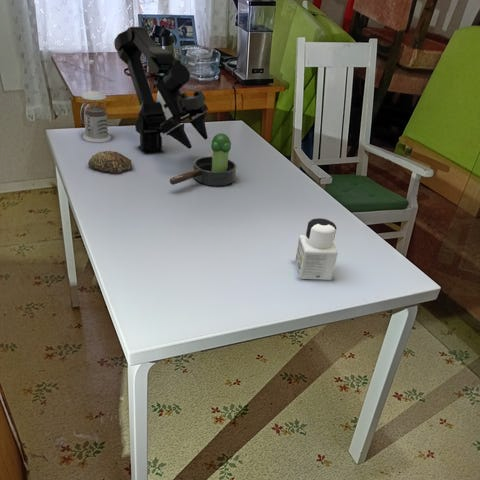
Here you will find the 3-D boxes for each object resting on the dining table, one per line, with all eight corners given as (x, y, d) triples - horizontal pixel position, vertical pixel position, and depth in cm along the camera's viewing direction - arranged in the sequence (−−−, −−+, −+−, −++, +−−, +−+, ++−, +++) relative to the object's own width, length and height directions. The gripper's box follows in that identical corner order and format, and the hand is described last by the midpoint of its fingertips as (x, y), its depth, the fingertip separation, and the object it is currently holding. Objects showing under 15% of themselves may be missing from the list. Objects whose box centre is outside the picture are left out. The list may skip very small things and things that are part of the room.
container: (294, 262, 129) (303, 214, 121) (324, 263, 130) (335, 215, 122) (299, 279, 123) (309, 230, 115) (331, 280, 124) (343, 231, 116)
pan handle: (199, 173, 160) (199, 167, 158) (203, 175, 159) (204, 169, 158) (168, 184, 151) (168, 177, 150) (172, 186, 150) (173, 179, 149)
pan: (205, 189, 158) (205, 175, 155) (186, 172, 166) (186, 158, 163) (242, 183, 163) (243, 170, 161) (222, 168, 172) (223, 154, 169)
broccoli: (218, 184, 160) (221, 139, 151) (203, 177, 163) (205, 132, 155) (234, 180, 164) (238, 135, 155) (219, 172, 168) (222, 128, 159)
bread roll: (82, 167, 162) (81, 151, 159) (108, 156, 171) (107, 140, 168) (116, 177, 158) (115, 161, 155) (140, 165, 167) (140, 150, 164)
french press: (117, 136, 186) (113, 60, 171) (96, 145, 177) (90, 66, 162) (94, 130, 189) (88, 54, 173) (73, 139, 180) (65, 60, 165)
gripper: (171, 90, 145) (200, 142, 150) (206, 75, 158) (232, 123, 163) (147, 108, 153) (175, 157, 158) (182, 93, 166) (207, 138, 170)
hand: (198, 143), depth 162 cm, fingers open, 9 cm apart
